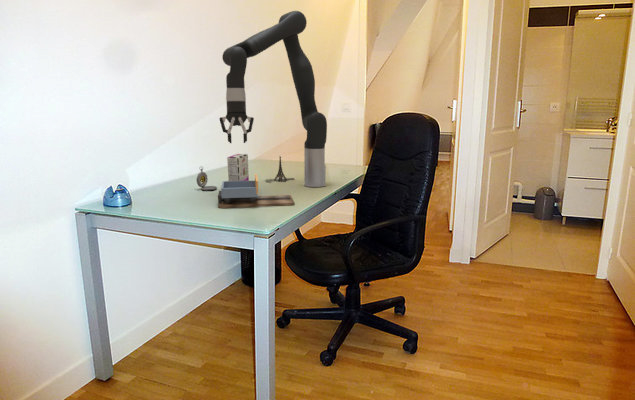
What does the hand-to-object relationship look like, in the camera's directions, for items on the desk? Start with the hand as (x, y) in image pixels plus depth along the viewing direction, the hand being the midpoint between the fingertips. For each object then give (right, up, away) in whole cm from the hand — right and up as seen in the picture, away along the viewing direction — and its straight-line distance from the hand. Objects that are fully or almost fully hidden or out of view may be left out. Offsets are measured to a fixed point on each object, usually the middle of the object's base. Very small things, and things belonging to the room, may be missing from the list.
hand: (237, 142), depth 183 cm
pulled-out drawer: (+3, -23, -11) cm, 26 cm away
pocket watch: (-16, -19, +15) cm, 29 cm away
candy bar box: (0, -21, +5) cm, 22 cm away
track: (+9, -24, -10) cm, 27 cm away
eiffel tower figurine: (+15, -14, +37) cm, 43 cm away
